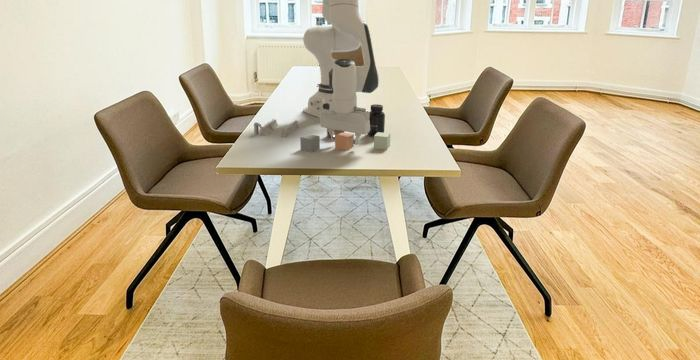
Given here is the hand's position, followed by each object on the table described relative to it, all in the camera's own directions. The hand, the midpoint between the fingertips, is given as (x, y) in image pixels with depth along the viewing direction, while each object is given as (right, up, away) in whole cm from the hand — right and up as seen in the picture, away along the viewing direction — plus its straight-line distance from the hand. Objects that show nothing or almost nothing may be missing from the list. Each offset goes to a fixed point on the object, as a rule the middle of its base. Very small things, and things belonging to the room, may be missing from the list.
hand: (344, 142), depth 197 cm
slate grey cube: (-13, -3, -1) cm, 13 cm away
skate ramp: (-28, +6, +22) cm, 36 cm away
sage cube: (+14, -2, +2) cm, 14 cm away
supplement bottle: (+13, +4, +17) cm, 21 cm away
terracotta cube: (0, -2, +1) cm, 2 cm away
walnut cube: (-4, +3, +14) cm, 15 cm away
